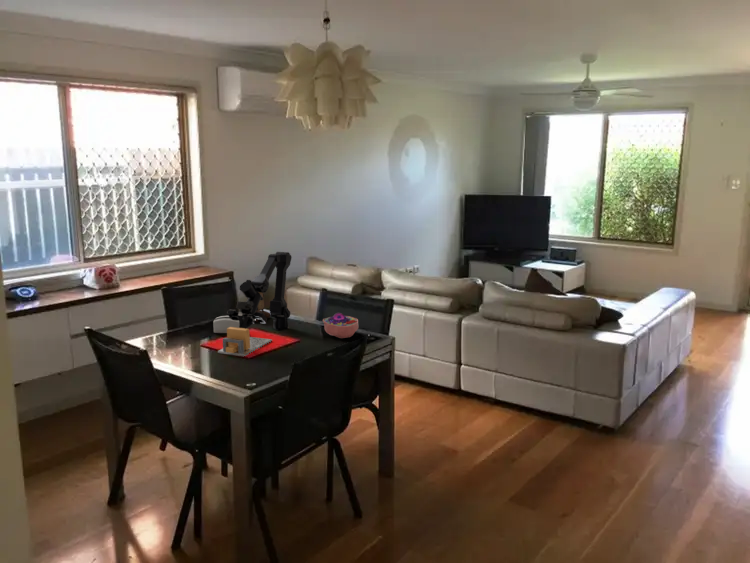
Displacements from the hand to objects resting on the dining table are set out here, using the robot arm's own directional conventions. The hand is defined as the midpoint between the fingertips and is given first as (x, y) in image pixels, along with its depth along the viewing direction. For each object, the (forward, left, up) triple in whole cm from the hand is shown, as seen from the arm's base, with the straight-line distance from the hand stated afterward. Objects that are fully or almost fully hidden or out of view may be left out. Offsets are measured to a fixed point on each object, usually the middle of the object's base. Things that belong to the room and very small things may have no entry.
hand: (240, 332), depth 293 cm
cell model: (-48, +9, -9) cm, 50 cm away
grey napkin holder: (-6, -29, -9) cm, 31 cm away
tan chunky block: (+4, +3, -7) cm, 8 cm away
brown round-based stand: (-27, -45, -8) cm, 53 cm away
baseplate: (-3, -2, -8) cm, 9 cm away
